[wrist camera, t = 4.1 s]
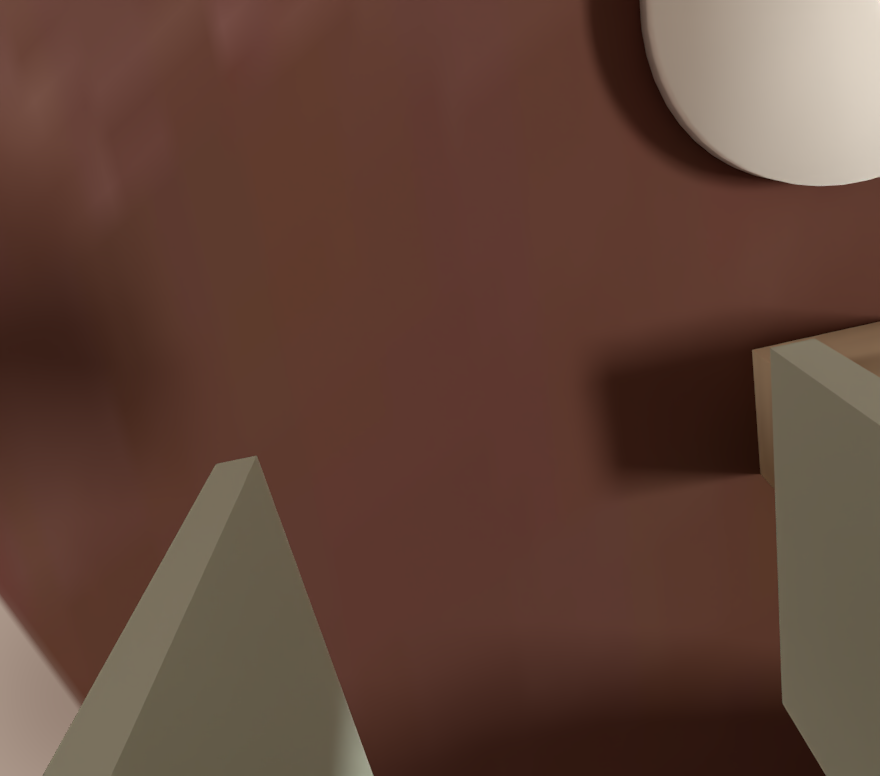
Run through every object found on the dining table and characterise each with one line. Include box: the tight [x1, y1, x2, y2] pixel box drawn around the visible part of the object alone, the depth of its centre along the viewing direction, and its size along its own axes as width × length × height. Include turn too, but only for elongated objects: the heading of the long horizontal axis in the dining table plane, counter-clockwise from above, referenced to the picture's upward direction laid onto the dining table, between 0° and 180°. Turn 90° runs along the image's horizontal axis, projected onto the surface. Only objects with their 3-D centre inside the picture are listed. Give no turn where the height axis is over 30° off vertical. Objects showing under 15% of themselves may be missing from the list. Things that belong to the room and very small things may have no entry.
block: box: [752, 322, 880, 490], centre depth 18 cm, size 4×4×4 cm
